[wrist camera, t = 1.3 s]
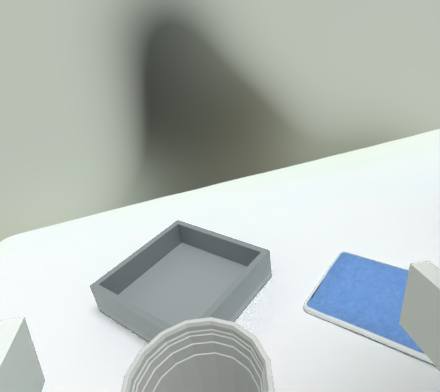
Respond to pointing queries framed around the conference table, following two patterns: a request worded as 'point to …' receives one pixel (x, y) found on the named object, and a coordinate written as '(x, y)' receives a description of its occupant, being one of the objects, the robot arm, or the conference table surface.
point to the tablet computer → (364, 300)
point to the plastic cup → (201, 360)
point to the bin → (182, 280)
